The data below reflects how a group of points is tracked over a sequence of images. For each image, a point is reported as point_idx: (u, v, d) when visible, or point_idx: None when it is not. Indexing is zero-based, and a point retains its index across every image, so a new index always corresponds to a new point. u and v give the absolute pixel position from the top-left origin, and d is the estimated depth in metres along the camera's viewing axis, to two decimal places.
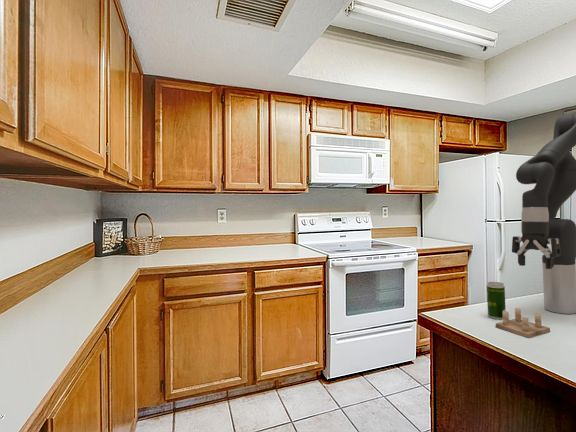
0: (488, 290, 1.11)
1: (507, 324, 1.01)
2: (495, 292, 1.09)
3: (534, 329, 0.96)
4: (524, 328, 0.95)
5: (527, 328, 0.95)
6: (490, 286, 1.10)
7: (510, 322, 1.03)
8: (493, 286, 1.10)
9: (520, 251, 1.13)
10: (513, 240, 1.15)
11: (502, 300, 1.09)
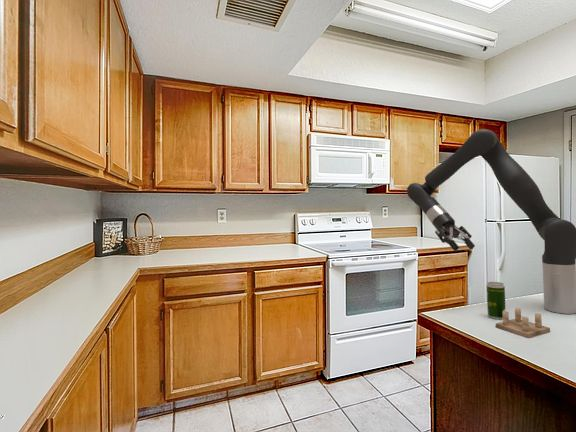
0: (488, 290, 1.11)
1: (507, 324, 1.01)
2: (495, 292, 1.09)
3: (534, 329, 0.96)
4: (524, 328, 0.95)
5: (527, 328, 0.95)
6: (490, 286, 1.10)
7: (510, 322, 1.03)
8: (493, 286, 1.10)
9: None
10: None
11: (502, 300, 1.09)
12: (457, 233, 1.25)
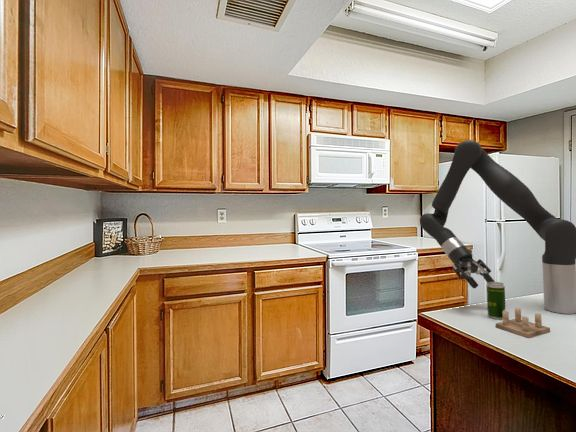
0: (488, 290, 1.11)
1: (507, 324, 1.01)
2: (495, 292, 1.09)
3: (534, 329, 0.96)
4: (524, 328, 0.95)
5: (527, 328, 0.95)
6: (490, 286, 1.10)
7: (510, 322, 1.03)
8: (493, 286, 1.10)
9: None
10: None
11: (502, 300, 1.09)
12: (475, 268, 1.19)
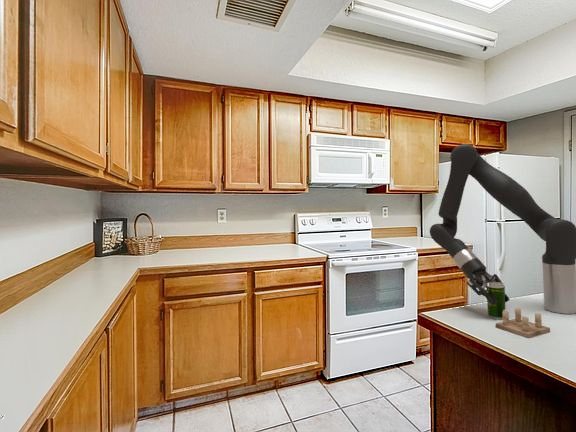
0: None
1: (507, 324, 1.01)
2: (495, 292, 1.09)
3: (534, 329, 0.96)
4: (524, 328, 0.95)
5: (527, 328, 0.95)
6: (490, 286, 1.10)
7: (510, 322, 1.03)
8: (493, 286, 1.10)
9: None
10: None
11: (502, 300, 1.09)
12: None
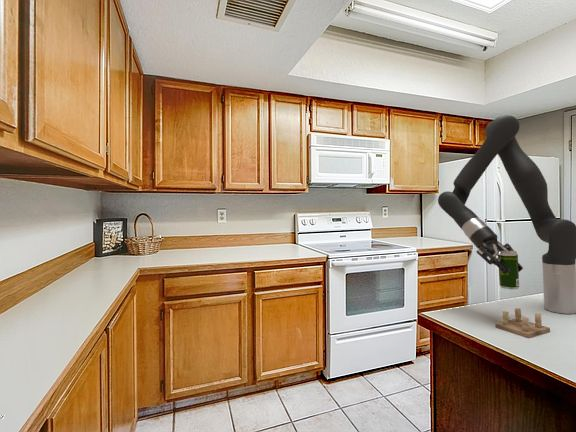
0: (500, 258, 1.04)
1: (507, 324, 1.01)
2: (508, 260, 1.02)
3: (534, 329, 0.96)
4: (524, 328, 0.95)
5: (527, 328, 0.95)
6: (502, 254, 1.03)
7: (510, 322, 1.03)
8: (505, 254, 1.02)
9: None
10: None
11: (514, 269, 1.01)
12: (500, 250, 1.07)
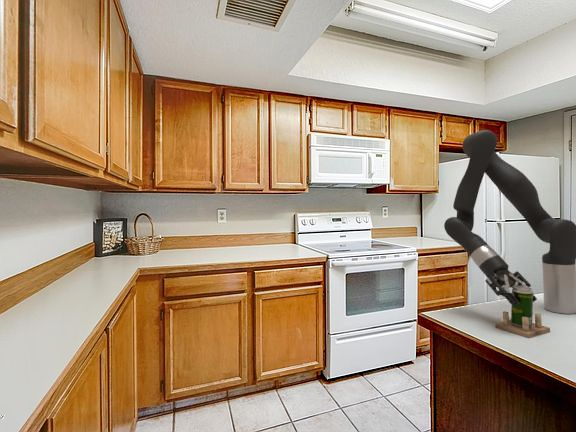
0: (514, 295, 0.99)
1: (507, 324, 1.01)
2: (522, 298, 0.97)
3: (534, 329, 0.96)
4: (524, 328, 0.95)
5: (527, 328, 0.95)
6: (517, 291, 0.98)
7: (510, 322, 1.03)
8: (520, 291, 0.97)
9: None
10: None
11: (529, 307, 0.97)
12: (513, 282, 1.02)
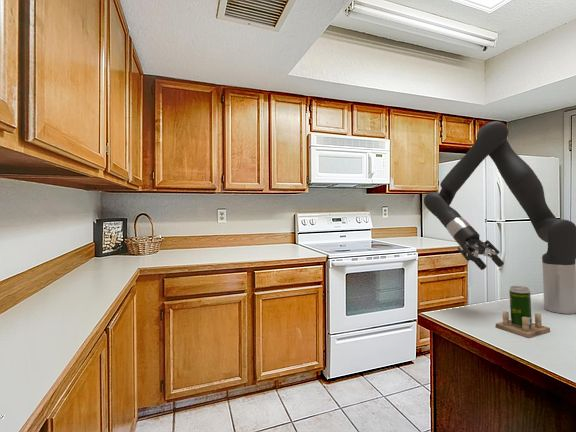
0: (511, 295, 1.00)
1: (507, 324, 1.01)
2: (520, 298, 0.98)
3: (534, 329, 0.96)
4: (524, 328, 0.95)
5: (527, 328, 0.95)
6: (514, 291, 0.99)
7: (510, 322, 1.03)
8: (517, 291, 0.98)
9: None
10: None
11: (527, 307, 0.97)
12: (483, 249, 1.11)
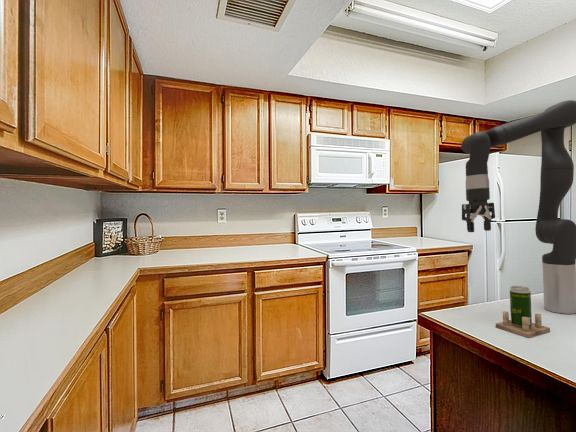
0: (511, 295, 1.00)
1: (507, 324, 1.01)
2: (520, 298, 0.97)
3: (534, 329, 0.96)
4: (524, 328, 0.95)
5: (527, 328, 0.95)
6: (514, 291, 0.99)
7: (510, 322, 1.03)
8: (518, 291, 0.98)
9: None
10: None
11: (527, 307, 0.97)
12: (483, 212, 1.16)
